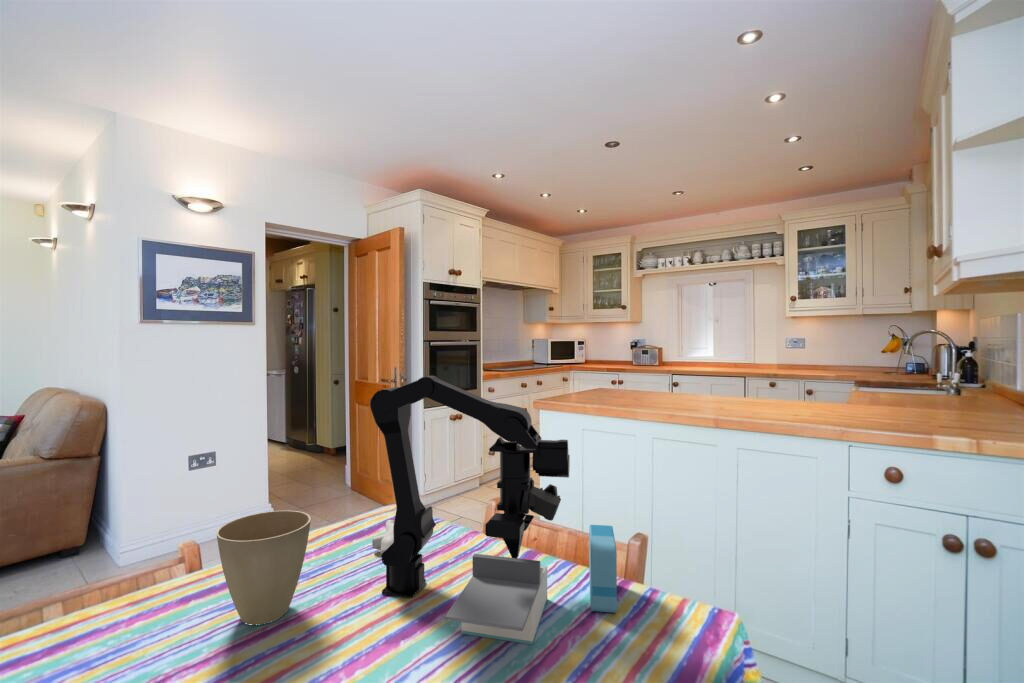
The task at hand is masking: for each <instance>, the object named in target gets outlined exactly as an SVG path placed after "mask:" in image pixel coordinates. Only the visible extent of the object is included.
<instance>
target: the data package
mask: <svg viewBox="0 0 1024 683" xmlns="http://www.w3.org/2000/svg"><path fill="white" fill-rule="evenodd" d="M588 528H589V538H588V539H589V544H588V545H589V547H588V548H589V552H588V553H589V557H588V558H589V559H588V560H589V564H588V565H589V569H588V570H589V571H588V572H589V575H588V576H589V596H590V598H589V599H590V600H589V601H590V610H591V612H599V613H601V612H602V613H614V614H615V613H617V611H618V610H617V609H618V607H617V605H618V604H617V602H618V598H617V596H618V592H617V590H618V588H617V587H618V584H617V580H618V579H617V575H618V572H617V571H618V570H617V568H618V566H617V562H618V560H617V557H618V555H617V544H616V539H615V533H614V528H613V525H601V524H589V527H588Z"/></svg>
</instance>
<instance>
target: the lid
mask: <svg viewBox="0 0 1024 683" xmlns="http://www.w3.org/2000/svg"><path fill="white" fill-rule="evenodd" d="M540 566H541V561H540V560H533V559H527V558H512V557H507V556H499V555H490V554H483V553H481V554H480V553H474V554H473V555H472V576H471V578H470V580H469V581H468V582H467V584H466V585H465V587H464V588H463V589H462V591H461V592H460V594H459V595H458V597H457V598H456V600H455V601H454V603H453V604H452V605H451V607H450V609H449V610H448V612H447V613H446V614H445V616H444V620H445V621H449V622H450V621H451V622H458V623H462V622H463V623H470V624H477V625H483V626H490V627H497V628H503V629H510V630H517V631H523V629H524V626H525V623H526V621H527V618H528V615H529V613H530V610H531V607H532V605H533V602H534V600H535V597H536V594H537V592H538V589H539V586H540Z"/></svg>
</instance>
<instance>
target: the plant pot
mask: <svg viewBox="0 0 1024 683" xmlns="http://www.w3.org/2000/svg"><path fill="white" fill-rule="evenodd" d="M311 521H312V517H311V515H310V514H308V513H306V512H304V511H303V512H302V511H298V510H272V511H271V510H270V511H264V512H259V513H253V514H249V515H245V516H242V517H238V518H236V519H233V520H230V521H228V522H227V523H225V524H224V525H222V526H220V527H219V528H218V530H217V531H216V533H215V534H216V539H217V545H218V546H217V547H218V552H219V558H220V563H221V568H222V573H223V575H224V579H225V582H226V586H227V588H228V592H229V594H230V597H231V600H232V602H233V605H234V607H235V610H236V611H237V614H238V616H239V618H240V620H241V622H242V621H243V622H244V623H247V624H252V625H251V626H253V625H256V624H257V625H256V626H259V625H258V624H264V623H268V624H270V623H269V622H271V621H273V622H275V621H274V620H276V619H278V618H279V619H281V618H282V617H284V616H285V615H286V614H287V612H288V611H289V608H290V606H291V603H292V600H293V598H294V594H295V593H296V592H295V591H296V589H297V585H298V583H299V580H300V576H301V573H302V569H303V565H304V561H305V556H306V552H307V547H308V542H309V541H308V540H309V536H310V535H309V534H310V529H311ZM285 613H286V614H285ZM284 614H285V615H284ZM283 615H284V616H283ZM280 617H281V618H280ZM279 619H278V620H279ZM276 621H277V620H276ZM243 622H242V623H243ZM244 623H243V624H244ZM271 623H272V622H271ZM247 624H246V625H247ZM264 625H265V624H264Z"/></svg>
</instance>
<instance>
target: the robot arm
mask: <svg viewBox="0 0 1024 683" xmlns="http://www.w3.org/2000/svg"><path fill="white" fill-rule="evenodd" d="M426 398H427V399H430V400H431V401H433V402H436V403H439V404H441V405H443V406H446V407H448V408H450V409H452V410H454V411H456V412H459V413H461V414H464V415H466V416H467V417H471V418H473V419H475V420H478V421H479V422H481V423H482V424H483V425H484V426H486V427H487V428H488V429H489V430H490V431H491V432H493V433H495V434H496V435H498V436H499V437H498V438H497V439H496V441H495V442H494V444H492V445H491V446H490V447H489V448H488V450H489V452H494V453H495V452H496V453H499V480H498V481H497V482H496V488H497V489H499V502H498V503H497V504H496V505H497V506H496V510H497V511H501V513H500V512H495V513H494V514H493V515H492V516H491V517H490V518H489V519H488V521H487V522H486V523H485V526H484V527H485V529H484V532H485V536H486V537H488V538H498V539H502V540H503V542H504V544H505V546H506V548H507V550H508V552H509V555H510V558H518V557H520V551H521V547H522V542H523V538H524V534H525V532H526V531H527V530H528V528H529V526H530V524H531V523H532V521H533V519H534V518H535V516H534V515H532V514H529V513H530V511H531V512H532V513H535V514H537V515H539V516H541V517H543V518H544V519H545V520H548V521H551V522H552V521H553V520H554V519H555V516H556V515H557V513H558V512H557V511H558V509H559V506H560V503H561V501H562V498H561V496H560V495H558V489H557V486H555V485H553V484H548V485H547V486H546V487H545V488H544V489H543V487H540V488H538V487H536V486H535V480H534V479H533V477H531V465H532V471H533V472H534V471H535V474H538V477H548V478H567V479H568V478H569V477H570V464H571V463H570V458H571V456H570V454H569V440H568V439H558V440H556V439H555V440H550V439H542V436H541V435H540V433H539V432H538V431H537V430H536V428H535V427H534V426H533V424H532V417H531V414H530V413H529V411H528V410H527V409H525V408H523V407H521V406H515V405H512V404H507V403H502V402H496V401H491V400H488V399H486V398H483V397H481V396H478V395H476V394H474V393H472V392H470V391H467V390H465V389H463V388H460V387H458V386H455V385H454V384H453V385H452V384H451V383H449V382H446V381H444V380H442V379H440V378H438V377H437V376H435V375H427V376H422V377H419V378H418V379H417V380H415V381H413V382H412V381H411V382H410V383H407V384H405V385H402V386H392V387H389V388H383V389H380V390H378V391H376V392H375V393H373V395H372V397H371V398H370V401H369V407H370V412H371V414H372V418H373V419H374V423H375V424H376V426H377V428H379V431H380V432H381V433H382V435H383V437H384V443H385V448H386V454H387V459H388V466H389V471H390V477H391V482H392V488H393V495H394V501H395V505H396V508H395V509H396V510H395V516H394V519H393V520H394V526H393V537H394V542H393V543H392V544H391V545H390V546H389V547H388V548H387V549H386V550H385V551H384V552H383V553H382V555H381V556H382V557H381V559H382V562H383V565H384V566H385V567H386V568H385V578H386V579H385V585H386V586H384V588H383V589H382V590H381V594H382V595H388V596H394V597H403V598H409V599H411V598H413V597H414V596H415V595H416V594H417V593H418V592H419V591H420V589H421V588H422V587H423V586H424V585H425V584H426V580H427V579H426V578H425V563H424V562H423V554H422V553H420V552H421V550H423V548H424V547H425V545H426V544H427V543H428V542H429V540H430V539H431V538H432V536H433V534H434V528H435V527H436V526H437V525H436V524H437V523H436V522H435V521H434V517H433V507H432V506H428V507H426V506H425V504H423V502H422V501H421V498H420V497H421V496H420V492H419V486H418V481H417V474H416V469H415V463H414V458H413V452H412V448H411V447H412V446H411V441H410V434H409V426H410V421H411V416H412V415H411V414H412V411H411V410H412V406H411V405H412V404H415V403H418V402H419V401H422V400H424V399H426ZM531 454H532V464H531ZM502 511H503V513H502ZM419 553H420V554H419ZM518 559H519V558H518Z"/></svg>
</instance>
